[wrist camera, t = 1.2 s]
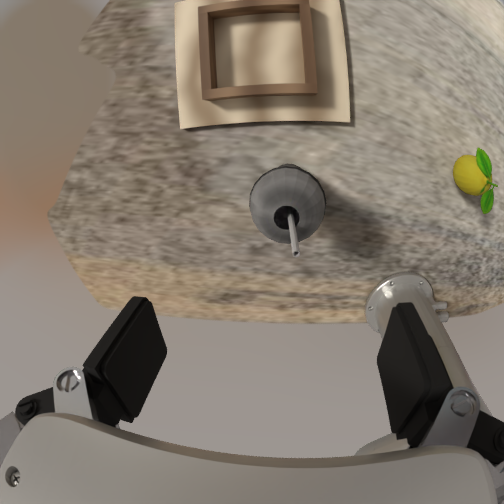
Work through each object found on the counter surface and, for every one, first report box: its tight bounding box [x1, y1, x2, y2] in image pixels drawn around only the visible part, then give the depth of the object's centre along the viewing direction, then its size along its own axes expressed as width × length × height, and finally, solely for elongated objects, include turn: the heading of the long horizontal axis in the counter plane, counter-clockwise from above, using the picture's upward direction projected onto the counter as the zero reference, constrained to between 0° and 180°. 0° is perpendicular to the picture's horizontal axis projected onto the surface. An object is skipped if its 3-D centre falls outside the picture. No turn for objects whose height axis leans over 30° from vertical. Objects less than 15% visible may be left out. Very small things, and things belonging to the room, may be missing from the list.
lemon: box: [453, 148, 498, 214], centre depth 26 cm, size 7×6×10 cm
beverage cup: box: [249, 164, 326, 257], centre depth 27 cm, size 7×7×20 cm
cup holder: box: [175, 0, 350, 129], centre depth 27 cm, size 22×20×4 cm
